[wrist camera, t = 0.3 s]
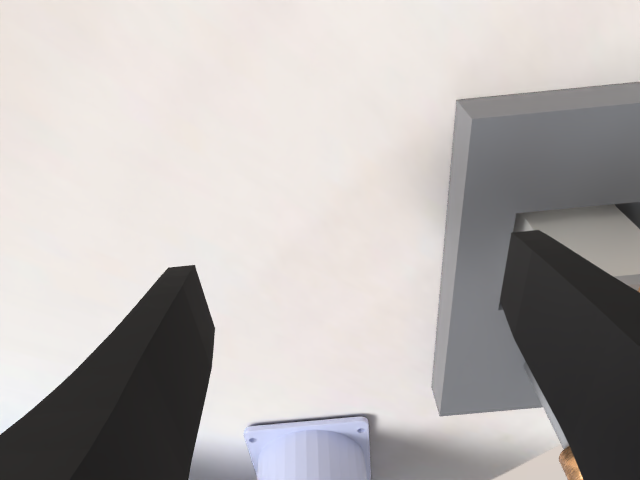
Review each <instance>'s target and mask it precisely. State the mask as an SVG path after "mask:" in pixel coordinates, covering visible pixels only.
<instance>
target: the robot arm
mask: <svg viewBox="0 0 640 480" xmlns="http://www.w3.org/2000/svg"><path fill="white" fill-rule="evenodd" d="M500 302H501V305H502V308H503V311H504V313H505V316H506V319H507V322H508V325H509V327H510V330H511V332H512V335H513V338H514V340H515V342H516V344H517V346H518V348H519V350H520V352H521V353H522V355H523V357H524V359H525V361H526V363H527V365H528V367H529V369H530V371H531V373H532V374H533V376H534V378H535V380H536V382H537V384H538V386H539V388H540V389H541V391H542V393H543V395H544V397H545V399H546V401H547V403H548V404H549V406H550V408H551V410H552V412H553V414H554V416H555V418H556V419H557V421H558V423H559V425H560V427H561V429H562V431H563V433H564V435H565V438H566V440H567V442H568V444H569V446H570V448H571V451H572V453H573V456H574V458H575V461H576V463H577V465H578V468H579V470H580V473H581V475H582V478H583V480H640V292H638V291H637V290H635V289H633V288H631V287H630V286H628V285H626V284H625V283H623V282H622V281H620V280H618V279H617V278H615V277H613V276H612V275H610V274H609V273H607V272H605V271H604V270H602V269H601V268H599V267H597V266H596V265H594V264H593V263H591V262H590V261H588V260H586V259H585V258H583V257H582V256H580V255H579V254H577V253H575V252H574V251H572V250H571V249H569V248H568V247H566V246H565V245H563V244H561V243H560V242H558V241H557V240H555V239H553V238H552V237H550V236H549V235H547V234H545V233H543V232H542V231H540V230H532V231H522V232H512V233H511V238H510V243H509V249H508V255H507V261H506V267H505V273H504V278H503V284H502V290H501V296H500ZM214 333H215V327H214V324H213V321H212V318H211V315H210V312H209V308H208V305H207V302H206V299H205V296H204V293H203V290H202V287H201V283H200V280H199V277H198V274H197V271H196V268H195V265H190V266H181V267H171V268H168V269H167V270H166V271H165V272H164V273H163V274H162V275H161V277H160V278H159V279H158V280H157V281H156V282H155V284H154V285H153V286H152V287H151V288H150V289H149V291H148V292H147V293H146V294H145V295H144V297H143V298H142V299H141V300H140V301H139V302H138V304H137V305H136V306H135V307H134V308H133V309H132V310H131V312H130V313H129V314H128V315H127V316H126V317H125V318H124V319H123V321H122V322H121V323H120V324H119V325H118V326H117V327H116V329H115V330H114V331H113V332H112V333H111V334H110V335H109V336H108V337H107V338H106V339H105V340H104V341H103V342H102V343H101V344H100V345H99V346H98V347H97V349H96V350H95V351H94V352H93V353H92V354H91V355H90V356H89V357H88V358H87V359H86V360H85V361H84V362H83V363H82V364H81V365H80V366H79V367H78V368H77V369H76V370H75V371H74V372H73V373H72V374H71V375H70V376H69V377H68V378H67V379H66V380H64V381H63V382H62V383H61V384H60V385H59V386H58V387H57V388H56V389H55V390H54V391H52V392H51V393H50V394H49V395H48V396H47V397H46V398H44V399H43V400H42V401H41V402H40V403H39V404H38V405H37V406H35V407H34V408H33V409H32V410H31V411H30V412H28V413H27V414H26V415H25V416H24V417H22V418H21V419H20V420H18V421H17V422H16V423H15V424H13V425H12V426H11V427H10V428H8V429H7V430H6V431H4V432H3V433H2V434H1V435H0V480H188V478H189V472H190V466H191V461H192V456H193V451H194V447H195V442H196V438H197V433H198V429H199V424H200V420H201V415H202V411H203V406H204V401H205V397H206V392H207V387H208V383H209V378H210V373H211V368H212V358H213V347H214ZM244 438H245V441H246V444H247V447H248V450H249V454H250V457H251V460H252V463H253V466H254V469H255V472H256V476H257V480H371V467H370V443H369V423H368V419H367V418H366V417H361V416H360V417H349V418H337V419H326V420H315V421H304V422H292V423H281V424H270V425H259V426H249V427H247V428H245V430H244Z"/></svg>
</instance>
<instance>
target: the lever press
mask: <svg viewBox="0 0 640 480" xmlns="http://www.w3.org/2000/svg"><path fill="white" fill-rule="evenodd" d="M610 204H615V206H616V207H617V208H618V209H619V210H620V211H621V212H622V213H623V214H624V215H625V216H626V217H627V218H629V219H630V220H631V221H632V222H633V223H634V224H635V225H636V226H637V227H638V228H639V229H640V82H635V83H625V84H614V85H604V86H594V87H584V88H574V89H563V90H553V91H543V92H533V93H523V94H512V95H502V96H492V97H482V98H472V99H461V100H456V112H455V123H454V135H453V146H452V158H451V169H450V181H449V192H448V204H447V215H446V227H445V239H444V250H443V262H442V273H441V285H440V296H439V308H438V319H437V331H436V342H435V354H434V366H433V377H432V391H433V394H434V398H435V401H436V405H437V408H438V412H439V416H449V415H461V414H472V413H483V412H494V411H506V410H517V409H528V408H539V407H543V408H544V410H545V412H546V414H547V416H548V418H549V420H550V422H551V424H552V426H553V428H554V430H555V432H556V434H557V436H558V439H559V441H560V443H561V445H562V447H563V449H565V448H567V447H568V446H569V444H568V442H567V440H566V438H565V435H564V433H563V431H562V429H561V427H560V425H559V423H558V421H557V419H556V418H555V416H554V414H553V412H552V410H551V408H550V406H549V404H548V403H547V401H546V399H545V397H544V395H543V393H542V391H541V389H540V388H539V386H538V384H537V382H536V380H535V378H534V376H533V374H532V373H531V371H530V369H529V367H528V365H527V363H526V361H525V359H524V357H523V355H522V353H521V352H520V350H519V348H518V346H517V344H516V342H515V340H514V338H513V335H512V332H511V330H510V327H509V325H508V322H507V319H506V316H505V313H504V311H503V308H502V305H501V302H500V296H501V290H502V284H503V278H504V273H505V267H506V261H507V255H508V249H509V243H510V238H511V233H512V232H513V229H514V223H515V218H516V213H526V212H536V211H547V210H558V209H568V208H579V207H589V206H600V205H610Z"/></svg>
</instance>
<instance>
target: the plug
mask: <svg viewBox="0 0 640 480" xmlns="http://www.w3.org/2000/svg"><path fill="white" fill-rule="evenodd" d="M532 230H540V231H542V232H543V233H545V234H547V235H549V236H550V237H552V238H553V239H555V240H557V241H558V242H560V243H561V244H563V245H565V246H566V247H568V248H569V249H571V250H572V251H574V252H575V253H577V254H579V255H580V256H582V257H583V258H585V259H586V260H588V261H590V262H591V263H593V264H594V265H596V266H597V267H599V268H601V269H602V270H604V271H605V272H607V273H609V274H610V275H612V276H613V277H615V278H617V279H618V280H620V281H622V282H623V283H625V284H626V285H628V286H630V287H631V288H633V289H635V290H637V291H638V289H639V287H640V229H639V228H638V227H637V226H636V225H635V224H634V223H633V222H632V221H631V220H630V219H629V218H627V217H626V216H625V215H624V214H623V213H622V212H621V211H620V210H619V209H618V208H617V207H616V206H615V205H614V204H610V205H600V206H589V207H579V208H568V209H558V210H547V211H536V212H526V213H516V218H515V223H514V229H513V232H522V231H532Z"/></svg>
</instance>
